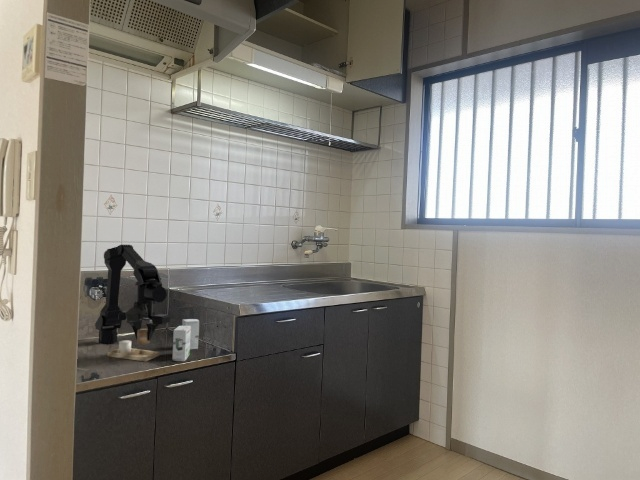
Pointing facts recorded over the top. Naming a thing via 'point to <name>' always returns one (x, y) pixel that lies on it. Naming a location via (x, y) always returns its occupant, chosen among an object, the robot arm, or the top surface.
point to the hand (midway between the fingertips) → (143, 340)
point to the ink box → (181, 343)
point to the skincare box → (192, 331)
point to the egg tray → (135, 354)
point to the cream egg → (125, 347)
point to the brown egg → (142, 336)
